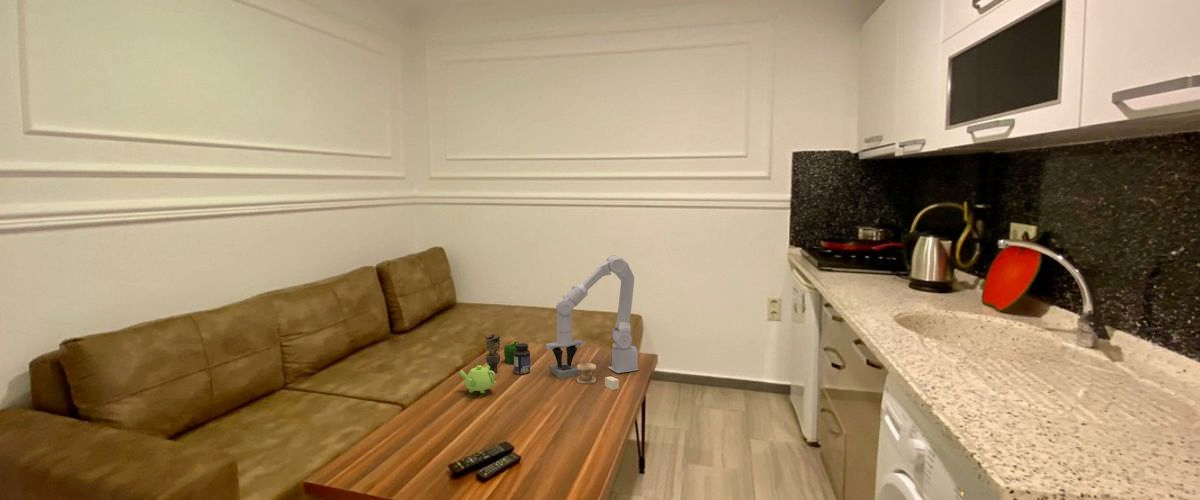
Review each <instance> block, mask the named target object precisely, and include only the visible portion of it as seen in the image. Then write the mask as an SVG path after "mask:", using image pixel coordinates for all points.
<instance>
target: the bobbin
mask: <svg viewBox="0 0 1200 500" xmlns="http://www.w3.org/2000/svg"><path fill="white" fill-rule="evenodd" d="M576 368H577V369H578V370H579V371H580V375H579V376H577V378H576V382H577V383H578V384H582V385H591V384H595V383H596V382H597V378H596V377H595V376H593V371H595V370H596V369H597V365H596V364H595V363H590V362H584V363H583V362H582V363H578V364H577V365H576Z"/></svg>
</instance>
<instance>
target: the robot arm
mask: <svg viewBox="0 0 1200 500" xmlns="http://www.w3.org/2000/svg"><path fill="white" fill-rule="evenodd" d="M629 265H630V264H629V263H628V262H627V261H626V260H625V259H624V258H622V257H620V256H618V255H614V254H612V255H610V256H608V257H607V258H606V260H603V261H602V262H601V263H600V264H599V265H598V266H597V267H596V269H594V270H593V272H591V273H590V275H589V276H588V277H587V278H586V279H585V280H584V281H583V282H582V283H577V284H576V285H572V286H571V290H570V291H568V292H567V293H566V295H565V294H564V295H563V296H562V298H561V299H559V300H558V301H557V303H556V306H555V308H556V310H557V315H556V316H557V318H556V341H553V342H550V343H545V350H547V351H549V350H552V352H553V355H554V356H555V360H556V363H557V365H558V367H560V368H561V367H562V364H563V361H562V358H563V350H562V349H563V348H565V350H566V363H567V365H568V366H571V365H572V363H573V359H574V356H575V355H576V353H577V350H578V347H580V346H581V347H583V346H584V345H583V344H584V341H583V340H582V339H573V318H572V317H573V316H572V315H573V311H574V308H575V307H577V306H579V304H580V303H581V302H582V301H583V300H584V299H585V298H586V297H587V296H588V291H589V289H590V288H592V287H593V286H594V285H595V284H596V283H598V281H600V279H601V278H603V277H605V276H611V275H612V273H613V274H615V276H617V278H618V279H619V280H620V289H619V298H618V308H617V318H616V322H615V324H614V325H615V326H614V329H613V330H612V332H611V339H612V340H613V341H614V342H613V344H612V347H611V348H612V351H611V352H612V353H611V354H612V359H611V360H612V361H611V364H612V365H611V366H607V368H608V370H611V371H613V372H615V373H616V374H620V373H621V374H622V373H630V372H634V371H639V367H638V365H639V364H638V363H639V359H638V358H639V355H638V349H637V347H636V346H635V345H632V343H633V337H632V334H631V333H632V332H631V331H632V327H631V315H632V314H631V313H632V307H633V306H632V305H633V296H634V287H635V286H634V285H635V275H634V274H633V271H632V269H631V268H630V266H629Z"/></svg>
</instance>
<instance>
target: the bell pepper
mask: <svg viewBox="0 0 1200 500" xmlns="http://www.w3.org/2000/svg"><path fill="white" fill-rule="evenodd" d="M516 344H520V341H518V340H515V341H514V342H513V343H511V344H507V345H506V344H505V345H504V347H503V355H504V360H505V363H506V364H508V365H514V352H515V351H516Z"/></svg>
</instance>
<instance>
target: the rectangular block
mask: <svg viewBox="0 0 1200 500" xmlns="http://www.w3.org/2000/svg"><path fill="white" fill-rule="evenodd" d="M604 387H606V388H607V389H610V390H612V391H615V390H619V389H620V380H619V379H618V378H616V377H614V376H605V377H604Z"/></svg>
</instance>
